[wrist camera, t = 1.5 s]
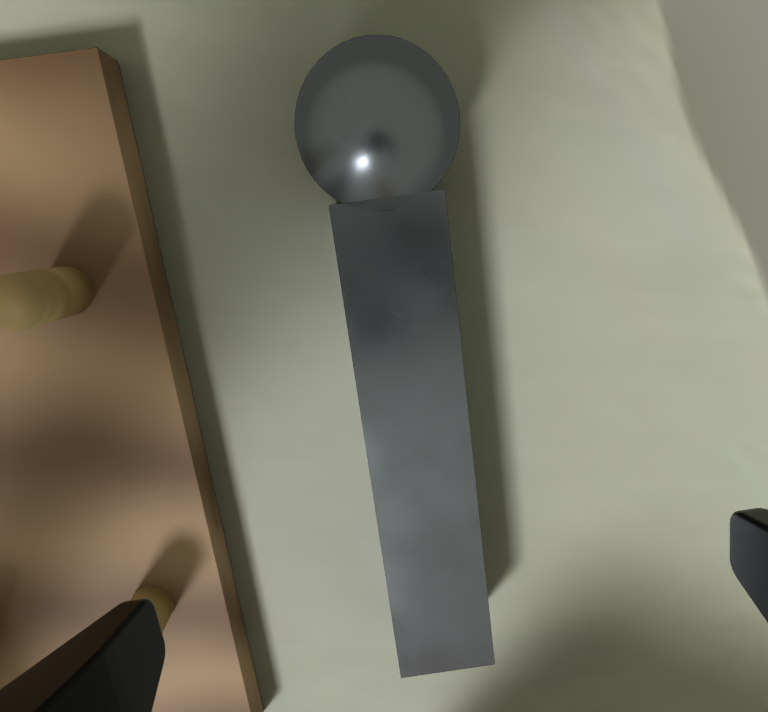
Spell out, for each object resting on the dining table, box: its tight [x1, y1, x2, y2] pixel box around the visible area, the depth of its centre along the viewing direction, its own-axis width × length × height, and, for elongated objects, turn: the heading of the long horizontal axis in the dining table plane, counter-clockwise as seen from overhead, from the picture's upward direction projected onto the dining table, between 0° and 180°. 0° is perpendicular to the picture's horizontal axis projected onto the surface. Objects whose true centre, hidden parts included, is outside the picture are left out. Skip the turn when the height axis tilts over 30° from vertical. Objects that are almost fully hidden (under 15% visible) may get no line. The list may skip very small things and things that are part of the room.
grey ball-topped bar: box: [295, 35, 495, 678], centre depth 20 cm, size 21×5×3 cm, turn 8°
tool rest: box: [0, 47, 264, 712], centre depth 19 cm, size 26×12×4 cm, turn 8°
